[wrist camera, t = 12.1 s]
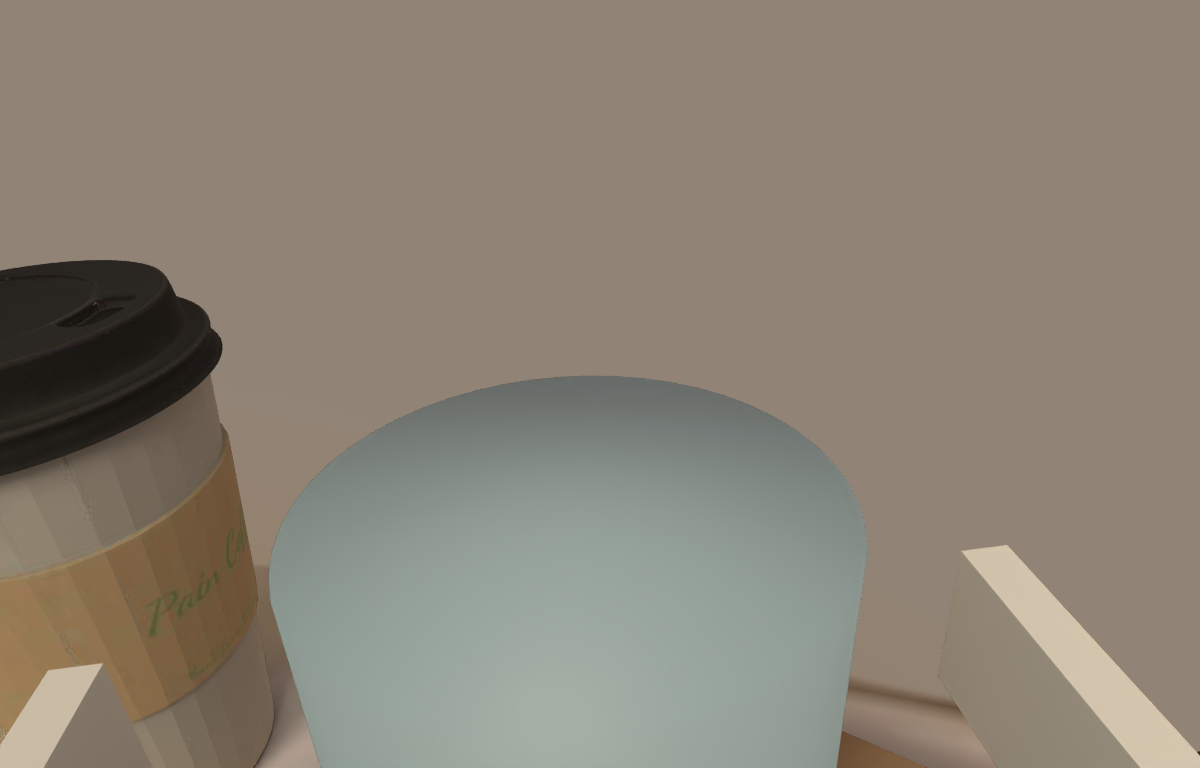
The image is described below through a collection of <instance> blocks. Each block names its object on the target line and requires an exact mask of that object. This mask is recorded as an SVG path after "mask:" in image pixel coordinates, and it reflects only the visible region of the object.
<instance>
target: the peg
mask: <svg viewBox="0 0 1200 768" xmlns="http://www.w3.org/2000/svg"><path fill="white" fill-rule="evenodd" d="M866 557H867V539H866V526H865V523H864V519H863V516H862V512H861V509H860V505H859V503H858V501H857V499H856V497H855V495H854V493H853V491H852V489H851V487H850V485H849V483H848V481H847V480H846V479H845V477H844V476H843V475H842V473H841V472H840V471H839V469H838V468H837V467H836V465H835V464H834V463H833V461H831V460H830V459H829V458H828V457H827V456H826V455H825V454H824V453H823V452H822V451H821V450H820V449H819V448H818V447H817V446H816V445H815V444H814V443H813V442H811V441H810V440H809V439H807V438H806V437H805V436H803V435H802V434H801V433H799V432H798V431H797V430H796V429H794V428H792V427H791V426H789V425H787V424H786V423H784V422H782V421H781V420H779V419H777V418H775V417H774V416H772V415H770V414H768V413H766V412H764V411H761V410H759V409H757V408H755V407H753V406H751V405H749V404H746V403H743V402H741V401H738V400H735V399H733V398H730V397H727V396H725V395H721V394H718V393H714V392H711V391H707V390H704V389H700V388H696V387H691V386H686V385H682V384H677V383H672V382H665V381H659V380H651V379H644V378H631V377H619V376H570V377H554V378H544V379H534V380H527V381H521V382H515V383H509V384H503V385H499V386H494V387H489V388H485V389H480V390H476V391H473V392H469V393H465V394H462V395H459V396H455V397H452V398H448V399H446V400H443V401H440V402H437V403H435V404H432V405H429V406H427V407H424V408H421V409H419V410H417V411H414V412H412V413H410V414H408V415H405V416H403V417H401V418H399V419H396V420H394V421H393V422H391V423H389V424H387V425H385V426H383V427H382V428H380V429H378V430H376V431H374V432H372V433H371V434H369V435H368V436H366V437H365V438H363V439H362V440H360V441H358V442H357V443H355V444H354V445H352V446H351V447H349V448H348V449H347V450H346V451H344V452H343V453H342V454H341V455H339V456H338V457H337V458H336V459H334V460H333V461H332V462H331V463H329V464H328V465H327V466H326V467H325V468H324V469H323V470H322V471H321V472H320V473H319V474H318V475H317V476H316V477H315V478H314V479H313V480H312V481H311V482H310V483H309V484H308V485H307V487H306V488H305V489H304V491H303V492H302V493H301V494H300V496H299V497H298V498H297V500H296V501H295V502H294V504H293V505H292V507H291V509H290V510H289V512H288V514H287V516H286V518H285V519H284V521H283V523H282V525H281V527H280V529H279V532H278V535H277V538H276V541H275V544H274V546H273V549H272V554H271V561H270V568H269V576H268V578H269V590H270V601H271V606H272V609H273V612H274V616H275V619H276V622H277V625H278V629H279V632H280V635H281V639H282V642H283V645H284V649H285V652H286V655H287V659H288V662H289V665H290V668H291V672H292V675H293V678H294V682H295V685H296V688H297V692H298V695H299V698H300V702H301V705H302V708H303V711H304V715H305V718H306V721H307V725H308V728H309V731H310V735H311V738H312V741H313V745H314V748H315V751H316V754H317V758H318V761H319V764H320V768H836V767H837V760H838V753H839V746H840V739H841V732H842V725H843V718H844V711H845V705H846V698H847V691H848V684H849V677H850V670H851V663H852V656H853V649H854V642H855V635H856V627H857V621H858V614H859V607H860V600H861V593H862V586H863V579H864V572H865V565H866Z"/></svg>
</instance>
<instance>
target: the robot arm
mask: <svg viewBox="0 0 1200 768" xmlns="http://www.w3.org/2000/svg"><path fill="white" fill-rule="evenodd" d="M938 677H939V678H940V680H941V681H942V683H943V684H944V686H945V687H946V689H947V691H948V692H949V694H950V695H951V697H952V698H953V700H954V701H955V703H956V705H957V706H958V708H959V709H960V711H961V712H962V714H963V715H964V717H965V719H966V720H967V722H968V723H969V725H970V726H971V728H972V729H973V731H974V733H975V734H976V736H977V737H978V739H979V740H980V742H981V743H982V745H983V747H984V748H985V750H986V751H987V753H988V754H989V756H990V757H991V759H992V761H993V762H994V764H995V765H996V767H997V768H1200V751H1199V752H1196V751H1195V750H1194V749H1193V748H1192V747H1191V746H1190V744H1189V743H1187V741H1186V740H1185V739H1184V738H1183V737H1182V736H1181V735H1180V734H1179V732H1178V731H1177V730H1176V729H1175V728H1174V727H1173V726H1172V725H1171V724H1170V723H1169V722H1168V721H1167V719H1166V718H1165V717H1164V716H1163V715H1162V714H1161V713H1160V712H1159V711H1158V709H1157V708H1156V707H1155V706H1154V705H1153V704H1152V703H1151V702H1150V701H1149V700H1148V699H1147V697H1146V696H1145V695H1144V694H1142V692H1141V691H1140V690H1139V689H1138V688H1137V687H1136V685H1135V684H1134V683H1133V682H1132V681H1131V680H1130V679H1129V678H1128V677H1127V676H1126V675H1125V673H1123V671H1122V670H1121V669H1120V668H1119V667H1118V666H1117V665H1116V664H1115V663H1114V661H1113V660H1112V659H1111V658H1110V657H1109V656H1108V655H1107V654H1106V653H1105V652H1104V651H1103V649H1102V648H1101V647H1100V646H1099V645H1098V644H1097V643H1096V642H1095V641H1094V640H1093V638H1091V636H1090V635H1089V634H1088V633H1087V632H1086V631H1085V630H1084V629H1083V628H1082V626H1081V625H1080V624H1079V623H1078V622H1077V621H1076V620H1075V619H1074V618H1073V617H1072V616H1071V614H1070V613H1068V611H1067V610H1066V609H1065V608H1064V607H1063V606H1062V605H1061V604H1060V603H1059V601H1058V600H1057V599H1056V598H1055V597H1054V596H1053V595H1052V594H1051V593H1050V592H1049V590H1048V589H1047V588H1046V587H1045V586H1044V585H1043V584H1042V583H1041V582H1040V581H1039V580H1038V578H1037V577H1036V576H1035V575H1034V574H1033V573H1032V572H1031V571H1030V570H1029V569H1028V568H1027V566H1025V564H1024V563H1023V562H1022V561H1021V560H1020V559H1019V558H1018V557H1017V556H1016V554H1015V553H1014V552H1013V551H1012V550H1011V549H1010V548H1009V547H1008V546H1007V545H1005V546H997V547H989V548H981V549H974V550H966V551H961V556H960V561H959V566H958V572H957V577H956V583H955V589H954V593H953V599H952V604H951V609H950V615H949V620H948V625H947V631H946V636H945V641H944V647H943V652H942V658H941V663H940V668H939V674H938ZM0 768H152V765H151V763H150V761H149V759H148V757H147V755H146V753H145V751H144V749H143V746H142V744H141V742H140V740H139V738H138V736H137V734H136V732H135V729H134V727H133V725H132V723H131V721H130V719H129V717H128V715H127V713H126V710H125V708H124V706H123V704H122V702H121V700H120V698H119V696H118V693H117V691H116V689H115V687H114V685H113V683H112V681H111V679H110V677H109V674H108V672H107V670H106V668H105V666H104V664H103V663H100V664H93V665H85V666H77V667H70V668H62V669H54V670H48V671H47V673H46V675H45V676H44V678H43V679H42V681H41V682H40V684H39V685H38V687H37V688H36V690H35V692H34V693H33V695H32V696H31V698H30V699H29V701H28V702H27V704H26V706H25V707H24V709H23V710H22V712H21V713H20V715H19V716H18V718H17V720H16V721H15V723H14V724H13V726H12V727H11V729H10V730H9V732H8V734H7V735H6V737H5V738H4V740H3V741H2V743H1V744H0Z"/></svg>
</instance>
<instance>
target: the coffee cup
mask: <svg viewBox="0 0 1200 768" xmlns="http://www.w3.org/2000/svg"><path fill="white" fill-rule="evenodd" d="M221 354H222V341H221V338H220V337H219V335H218V334H217V333H216V332H215V331H214V330H213V329H211V327H210V320H209V317H208V315H207V313H206V312H205V311H204V310H203V309H202V308H201V307H200V306H199V305H197V304H195V303H194V302H191V301H189V300H187V299H184V298H180V297H177V296H176V295H175V292H174V291H173V288H172V286H171V284H170V283H169V281H168V279H167V277H166V276H165V275H164V274H163V273H162V272H161V271H160V270H159V269H157V268H155V267H152V266H150V265H146V264H142V263H137V262H129V261H117V260H86V261H70V262H59V263H49V264H41V265H33V266H25V267H19V268H13V269H6V270H2V271H0V727H1V728H2V729H4V730H6V731H8V732H9V730H10V729H11V727H12V726H13V724H14V723H15V721H16V720H17V718H18V716H19V715H20V713H21V712H22V710H23V709H24V707H25V706H26V704H27V702H28V701H29V699H30V698H31V696H32V695H33V693H34V692H35V690H36V688H37V687H38V685H39V684H40V682H41V681H42V679H43V678H44V676H45V675H46V673H47V671H48V670H54V669H62V668H70V667H77V666H85V665H93V664H100V663H103V664H104V666H105V668H106V670H107V672H108V674H109V677H110V679H111V681H112V683H113V685H114V687H115V689H116V691H117V693H118V696H119V698H120V700H121V702H122V704H123V706H124V708H125V710H126V713H127V715H128V717H129V719H130V721H131V723H132V725H133V727H134V729H135V732H136V734H137V736H138V738H139V740H140V742H141V744H142V746H143V749H144V751H145V753H146V755H147V757H148V759H149V761H150V763H151V765H152V768H253V767H254V766H255V764H256V763H257V761H258V760H259V758H260V756H261V754H262V752H263V751H264V749H265V747H266V745H267V742H268V739H269V737H270V734H271V731H272V726H273V720H274V707H273V698H272V692H271V687H270V682H269V676H268V671H267V665H266V660H265V655H264V649H263V644H262V639H261V633H260V628H259V623H258V617H257V612H256V606H257V601H258V595H257V584H256V579H255V573H254V568H253V563H252V557H251V552H250V547H249V542H248V536H247V531H246V526H245V520H244V515H243V510H242V505H241V500H240V495H239V489H238V484H237V478H236V473H235V468H234V462H233V457H232V452H231V446H230V441H229V436H228V433H227V432H226V430H225V429H224V427H223V426H222V424H221V423H220V421H219V415H218V410H217V405H216V401H215V396H214V390H213V385H212V380H211V375H210V373H211V372H212V370H213V369H214V368H215V366H216V365H217V363H218V361H219V359H220V357H221Z"/></svg>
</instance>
